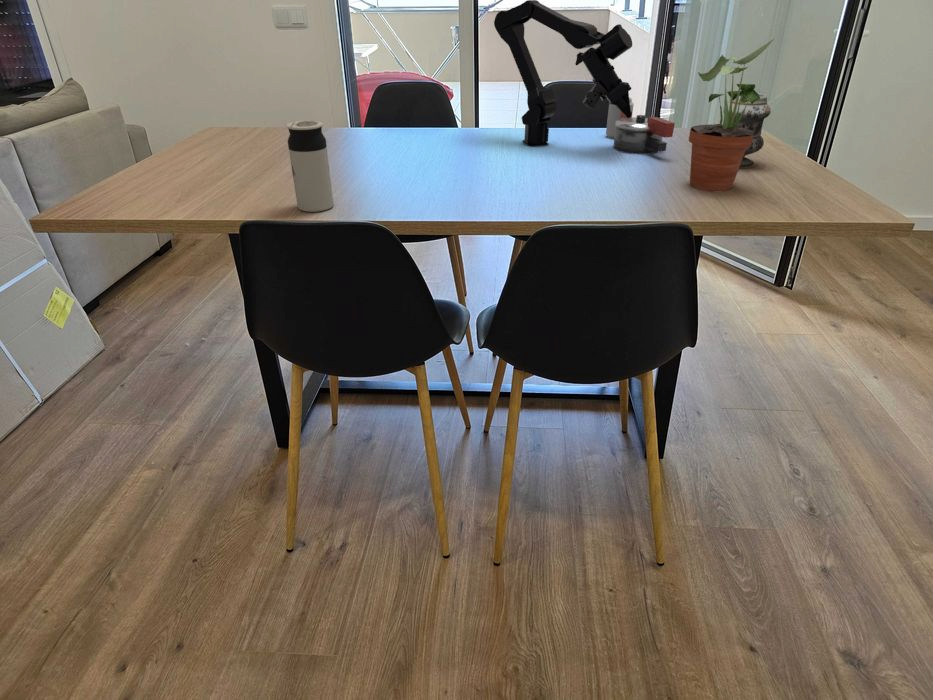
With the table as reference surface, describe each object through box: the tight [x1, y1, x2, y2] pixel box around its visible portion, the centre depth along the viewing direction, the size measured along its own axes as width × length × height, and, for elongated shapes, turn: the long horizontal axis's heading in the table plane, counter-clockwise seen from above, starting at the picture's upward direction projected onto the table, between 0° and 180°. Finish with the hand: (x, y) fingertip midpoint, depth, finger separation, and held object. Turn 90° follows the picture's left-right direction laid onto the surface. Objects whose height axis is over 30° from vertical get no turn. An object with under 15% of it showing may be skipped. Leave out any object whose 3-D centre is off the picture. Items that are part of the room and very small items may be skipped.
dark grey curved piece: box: [613, 127, 668, 155], centre depth 179 cm, size 14×24×6 cm, turn 14°
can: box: [605, 97, 634, 140], centre depth 192 cm, size 8×8×12 cm
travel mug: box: [286, 119, 334, 213], centre depth 131 cm, size 8×8×18 cm
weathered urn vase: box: [722, 92, 772, 169], centre depth 163 cm, size 12×12×18 cm
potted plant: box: [688, 38, 775, 192], centre depth 141 cm, size 16×15×35 cm
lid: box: [615, 111, 675, 138], centre depth 176 cm, size 14×25×4 cm, turn 17°
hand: (629, 117), depth 171 cm, fingers closed
